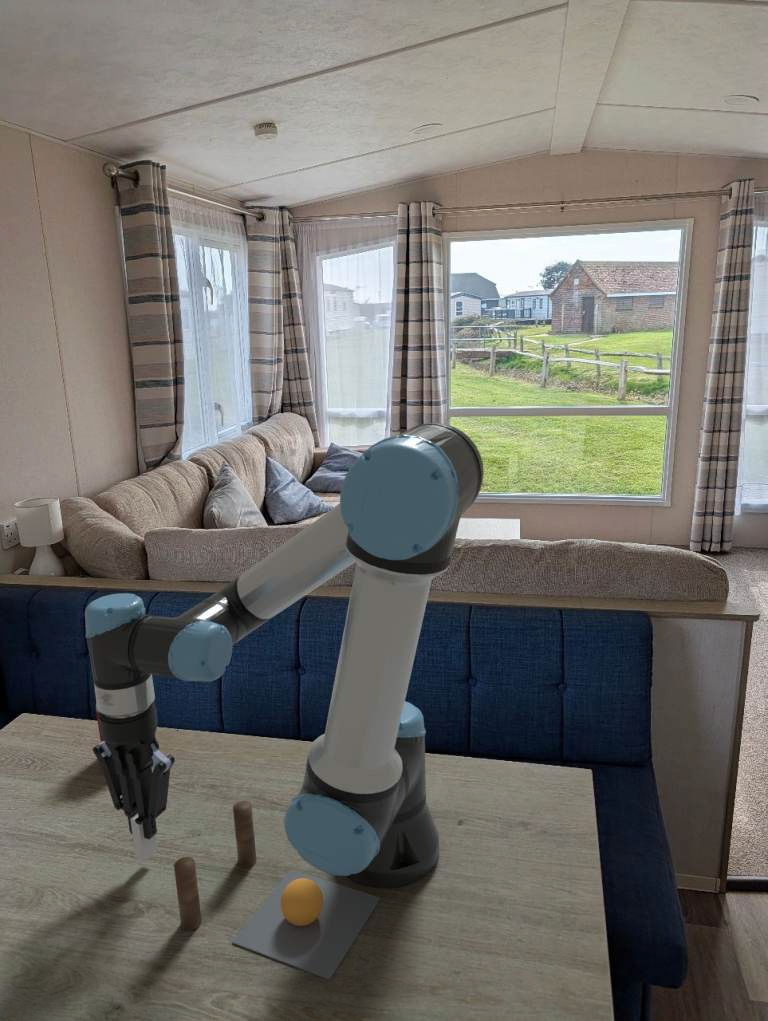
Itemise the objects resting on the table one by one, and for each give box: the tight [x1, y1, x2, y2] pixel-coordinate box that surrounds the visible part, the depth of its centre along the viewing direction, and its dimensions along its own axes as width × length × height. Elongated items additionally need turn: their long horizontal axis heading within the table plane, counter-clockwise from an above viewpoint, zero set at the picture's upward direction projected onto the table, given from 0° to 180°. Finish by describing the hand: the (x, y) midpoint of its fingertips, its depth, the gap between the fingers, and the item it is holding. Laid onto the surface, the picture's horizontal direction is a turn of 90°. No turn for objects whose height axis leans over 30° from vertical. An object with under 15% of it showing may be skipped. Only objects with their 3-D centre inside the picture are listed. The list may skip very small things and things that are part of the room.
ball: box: [281, 878, 323, 926], centre depth 98 cm, size 6×6×6 cm
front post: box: [173, 856, 203, 932], centre depth 97 cm, size 3×3×9 cm
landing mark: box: [231, 869, 381, 981], centre depth 98 cm, size 14×14×1 cm
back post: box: [232, 800, 257, 868], centre depth 108 cm, size 3×3×9 cm
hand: (146, 853), depth 109 cm, fingers closed
